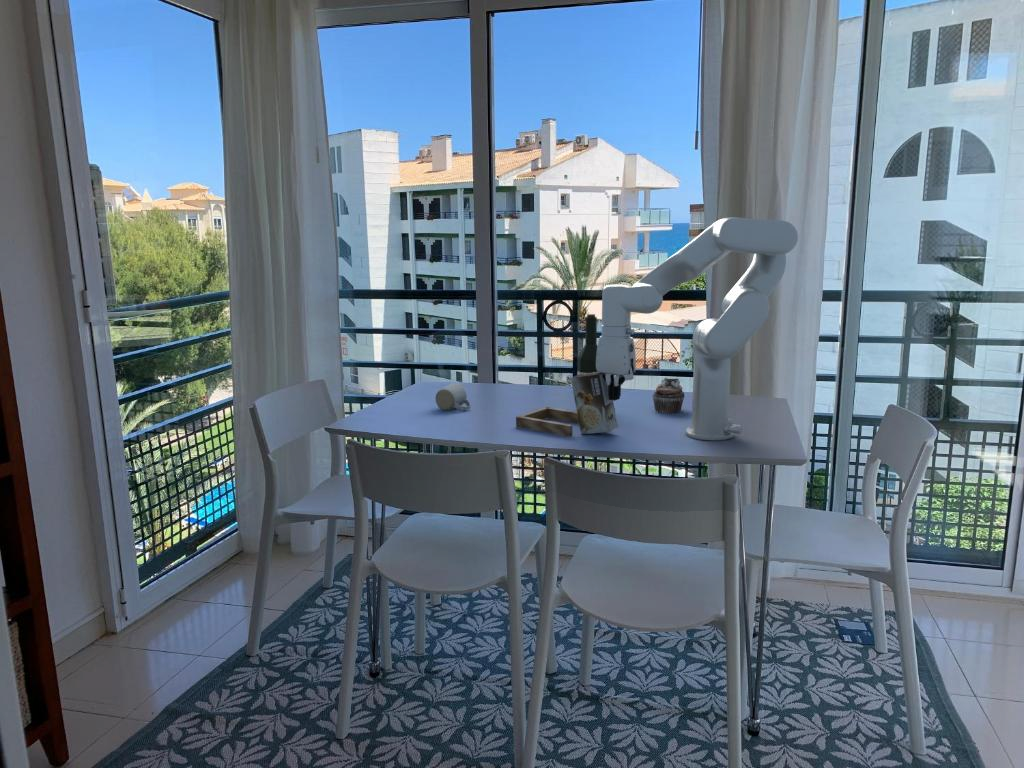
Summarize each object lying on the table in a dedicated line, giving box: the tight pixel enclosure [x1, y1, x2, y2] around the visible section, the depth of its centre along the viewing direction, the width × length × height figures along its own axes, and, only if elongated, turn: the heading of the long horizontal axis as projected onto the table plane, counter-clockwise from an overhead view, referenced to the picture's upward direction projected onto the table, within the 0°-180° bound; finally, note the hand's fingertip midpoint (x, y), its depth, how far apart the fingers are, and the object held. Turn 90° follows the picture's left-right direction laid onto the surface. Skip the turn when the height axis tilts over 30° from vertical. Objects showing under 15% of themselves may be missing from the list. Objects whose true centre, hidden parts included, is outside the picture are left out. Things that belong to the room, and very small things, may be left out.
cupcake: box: [652, 377, 685, 414], centre depth 229 cm, size 10×10×10 cm
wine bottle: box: [576, 313, 598, 375], centre depth 230 cm, size 8×8×30 cm
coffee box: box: [570, 372, 619, 435], centre depth 205 cm, size 9×6×16 cm
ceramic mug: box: [435, 382, 472, 411], centre depth 237 cm, size 11×8×8 cm
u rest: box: [515, 406, 579, 437], centre depth 214 cm, size 18×15×3 cm
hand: (614, 399), depth 200 cm, fingers closed
